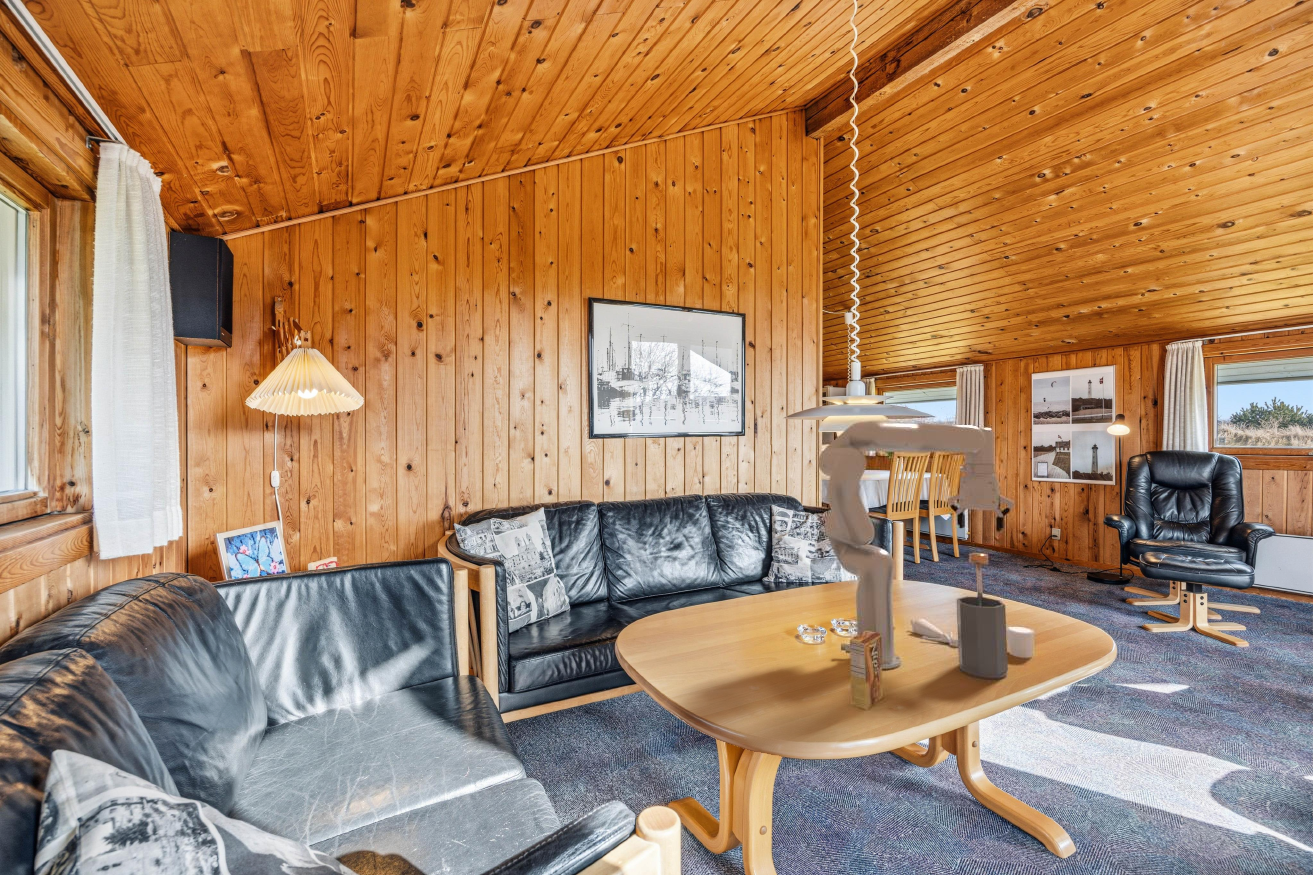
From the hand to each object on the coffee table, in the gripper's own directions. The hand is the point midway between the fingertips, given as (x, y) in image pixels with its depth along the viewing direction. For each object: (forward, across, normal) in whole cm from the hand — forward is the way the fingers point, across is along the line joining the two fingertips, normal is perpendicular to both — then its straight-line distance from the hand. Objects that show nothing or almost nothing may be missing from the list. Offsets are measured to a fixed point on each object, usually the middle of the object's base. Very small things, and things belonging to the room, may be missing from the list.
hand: (980, 529), depth 170 cm
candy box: (+36, -12, -53) cm, 65 cm away
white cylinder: (+34, +10, +1) cm, 36 cm away
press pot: (+35, +4, -16) cm, 38 cm away
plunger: (+21, +4, -18) cm, 28 cm away
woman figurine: (+35, -13, +2) cm, 37 cm away
